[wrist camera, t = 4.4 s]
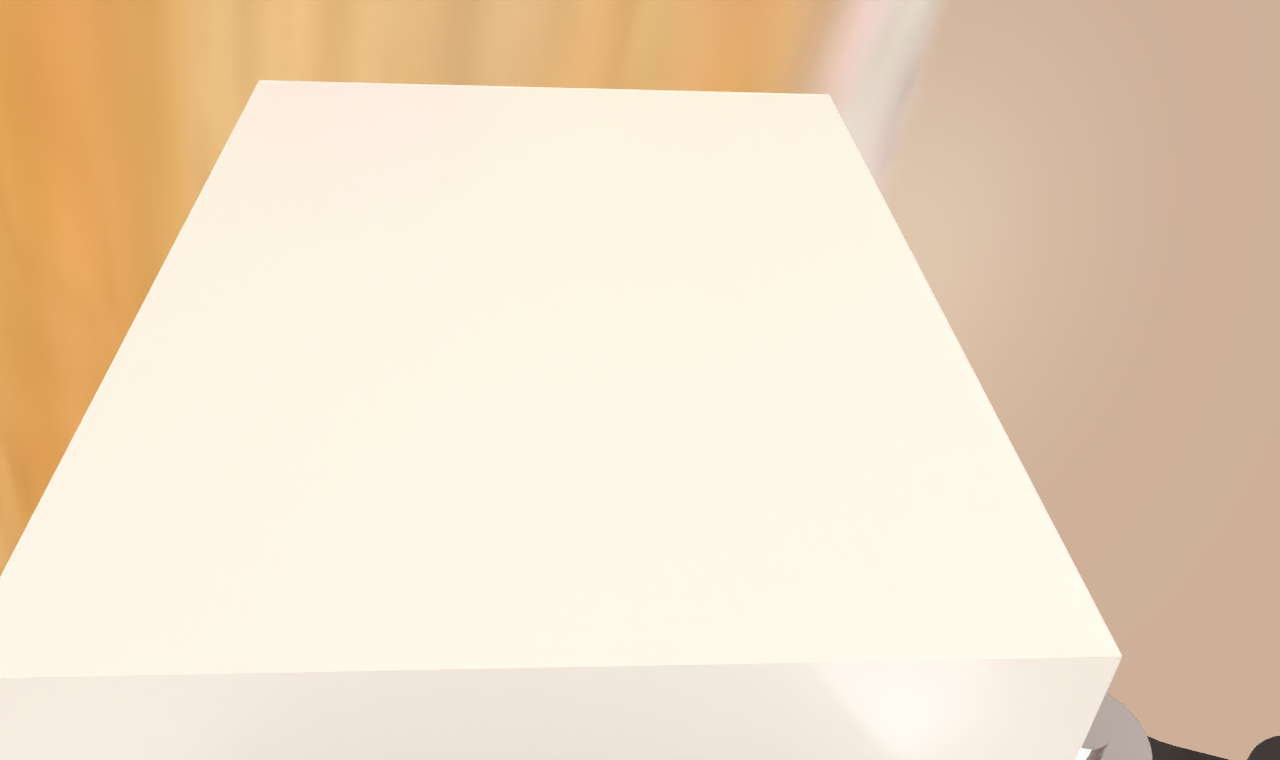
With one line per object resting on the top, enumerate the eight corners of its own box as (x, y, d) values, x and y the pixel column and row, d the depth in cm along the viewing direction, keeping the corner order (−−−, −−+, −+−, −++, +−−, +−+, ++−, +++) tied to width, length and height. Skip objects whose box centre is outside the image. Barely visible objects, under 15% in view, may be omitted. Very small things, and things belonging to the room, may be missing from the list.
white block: (259, 80, 13) (-52, 679, 6) (828, 94, 14) (1122, 656, 7) (321, 511, 17) (172, 1175, 10) (764, 508, 18) (908, 1133, 11)
